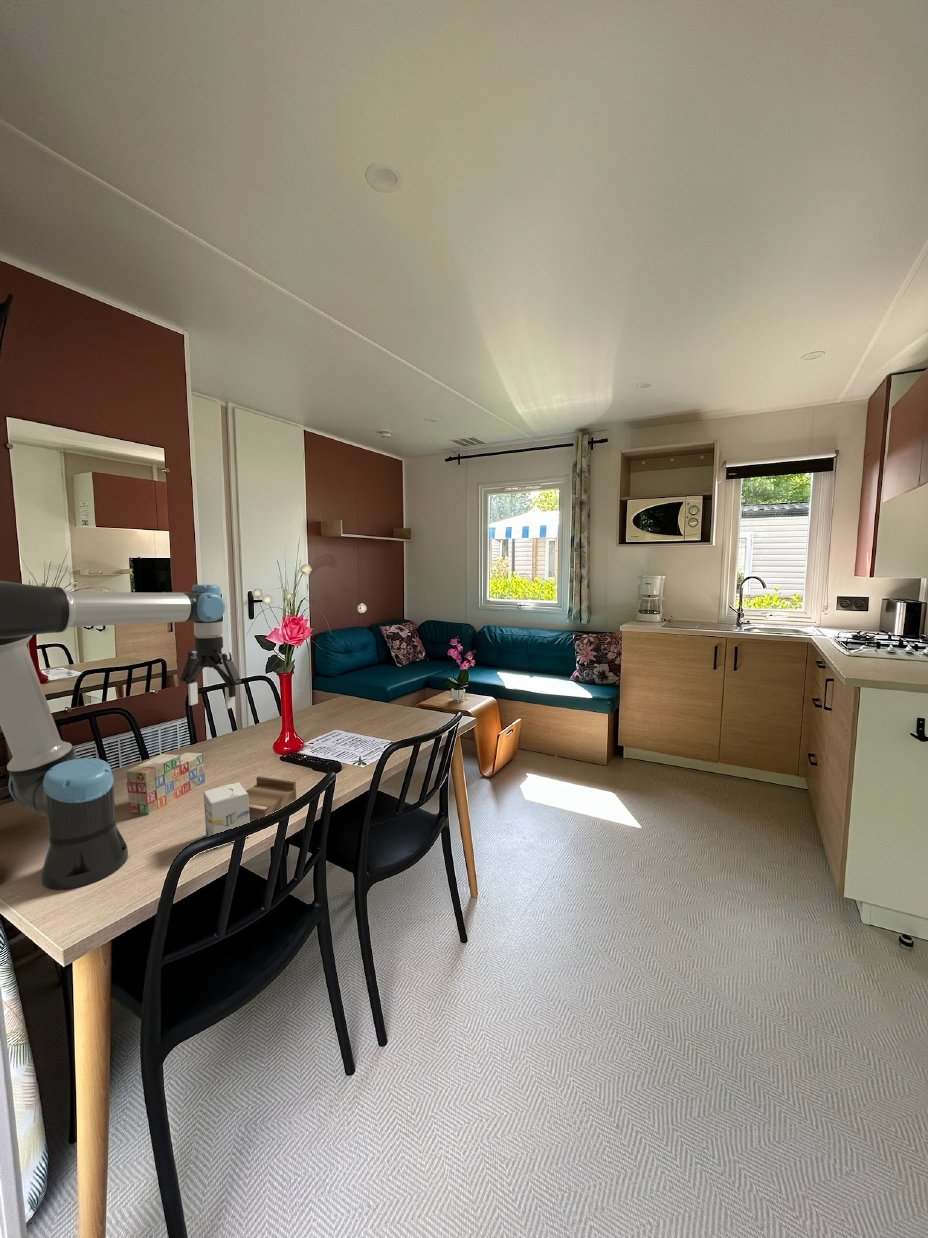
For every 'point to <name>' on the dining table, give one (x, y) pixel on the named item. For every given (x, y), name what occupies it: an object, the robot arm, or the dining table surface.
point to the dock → (269, 796)
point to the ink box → (225, 808)
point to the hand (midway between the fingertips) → (211, 706)
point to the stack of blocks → (163, 781)
